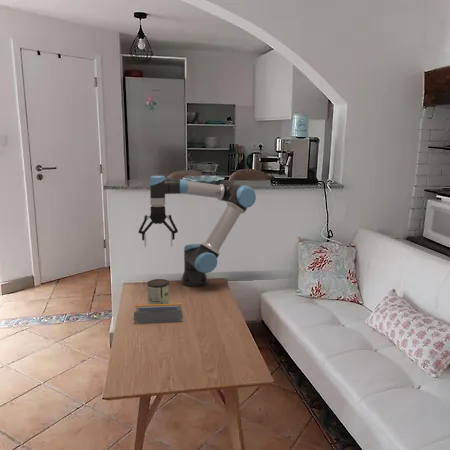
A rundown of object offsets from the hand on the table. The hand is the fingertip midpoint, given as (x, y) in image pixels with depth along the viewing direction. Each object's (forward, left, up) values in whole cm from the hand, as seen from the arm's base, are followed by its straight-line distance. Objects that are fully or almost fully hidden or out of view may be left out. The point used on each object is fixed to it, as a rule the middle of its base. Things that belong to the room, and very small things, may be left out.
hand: (158, 246), depth 225 cm
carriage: (0, +32, -25) cm, 41 cm away
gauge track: (0, +29, -27) cm, 39 cm away
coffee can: (0, +22, -27) cm, 35 cm away
